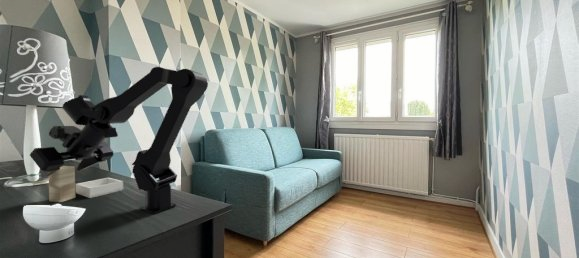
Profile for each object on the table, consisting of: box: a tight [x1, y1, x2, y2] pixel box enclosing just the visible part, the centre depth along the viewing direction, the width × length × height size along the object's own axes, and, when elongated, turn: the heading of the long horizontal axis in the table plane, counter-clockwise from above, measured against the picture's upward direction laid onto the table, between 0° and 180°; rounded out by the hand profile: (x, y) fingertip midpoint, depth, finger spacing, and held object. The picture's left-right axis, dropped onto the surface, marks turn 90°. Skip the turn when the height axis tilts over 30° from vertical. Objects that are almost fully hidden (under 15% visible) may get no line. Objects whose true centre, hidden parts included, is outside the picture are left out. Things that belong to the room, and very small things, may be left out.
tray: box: [75, 177, 124, 199], centre depth 78 cm, size 9×9×3 cm
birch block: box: [47, 165, 76, 203], centre depth 70 cm, size 4×4×10 cm
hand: (61, 173), depth 70 cm, fingers open, 9 cm apart
